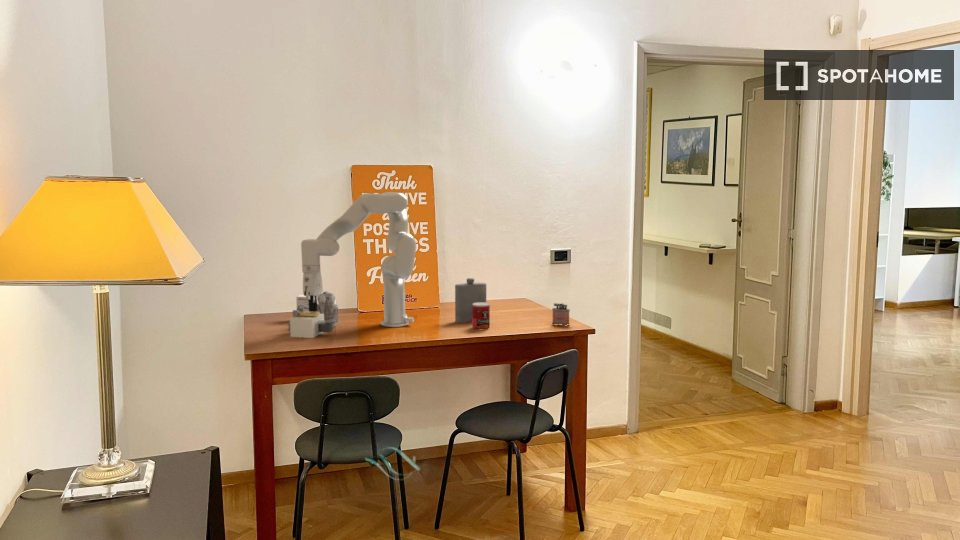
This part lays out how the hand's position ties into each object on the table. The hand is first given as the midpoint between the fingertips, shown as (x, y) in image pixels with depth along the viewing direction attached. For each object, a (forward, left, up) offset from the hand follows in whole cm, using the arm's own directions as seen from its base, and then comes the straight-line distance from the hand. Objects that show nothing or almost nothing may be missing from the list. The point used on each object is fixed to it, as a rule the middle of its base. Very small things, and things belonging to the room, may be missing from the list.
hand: (313, 311), depth 318 cm
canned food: (-67, -28, -11) cm, 74 cm away
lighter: (-101, -42, -11) cm, 110 cm away
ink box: (+16, -27, -11) cm, 33 cm away
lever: (+3, 0, -2) cm, 3 cm away
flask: (-59, -42, -11) cm, 73 cm away
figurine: (+2, -18, -11) cm, 21 cm away
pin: (+1, 0, -9) cm, 9 cm away
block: (+3, 0, -10) cm, 11 cm away
